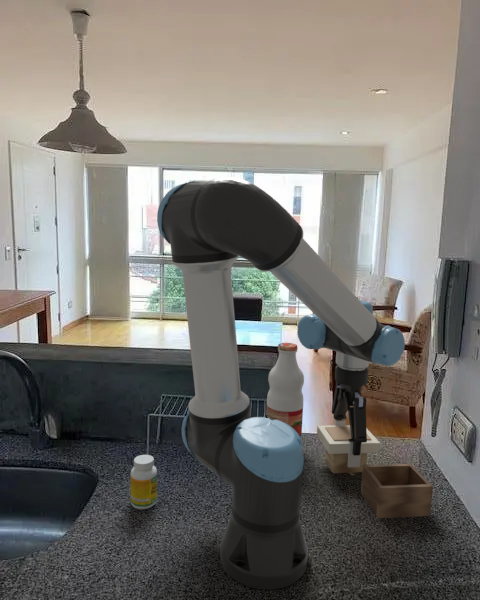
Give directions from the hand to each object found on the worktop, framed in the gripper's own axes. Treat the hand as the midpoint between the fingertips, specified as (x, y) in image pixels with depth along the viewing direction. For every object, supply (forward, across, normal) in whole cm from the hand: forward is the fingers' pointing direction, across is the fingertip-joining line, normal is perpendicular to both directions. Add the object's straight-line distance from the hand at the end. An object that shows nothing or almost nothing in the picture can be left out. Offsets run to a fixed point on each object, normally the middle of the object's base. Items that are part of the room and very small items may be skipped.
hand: (345, 455), depth 112 cm
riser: (+3, 0, 0) cm, 3 cm away
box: (+3, -16, -5) cm, 17 cm away
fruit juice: (+4, +11, +13) cm, 17 cm away
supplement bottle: (+4, -11, +47) cm, 48 cm away
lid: (-3, 0, 0) cm, 3 cm away
